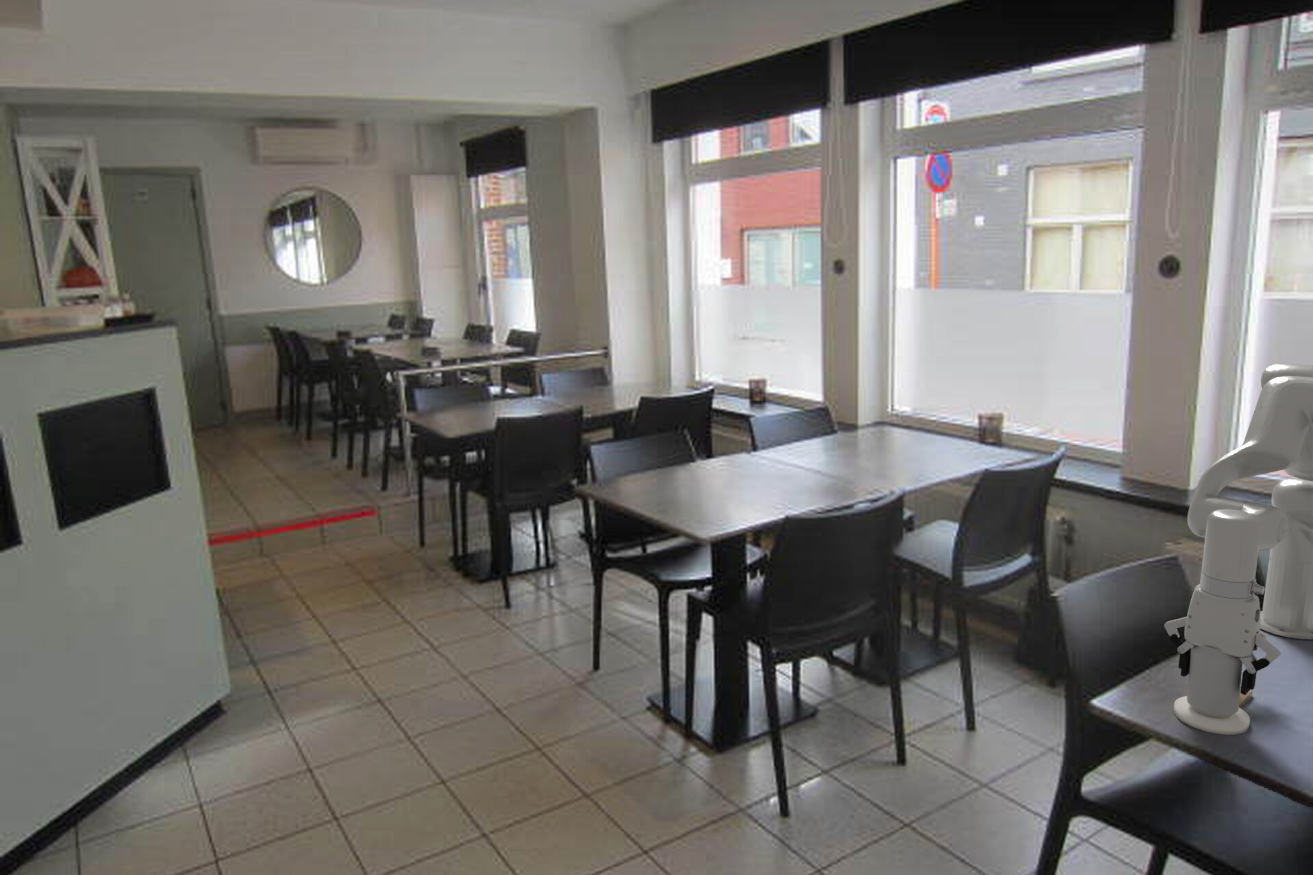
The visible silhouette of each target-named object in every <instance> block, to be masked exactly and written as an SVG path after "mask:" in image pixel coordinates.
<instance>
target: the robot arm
mask: <svg viewBox="0 0 1313 875" xmlns="http://www.w3.org/2000/svg"><path fill="white" fill-rule="evenodd" d="M1260 387H1261V390H1260V394H1259V396H1258V399H1257V403H1256V405H1255V408H1254V411H1253V414H1252V416H1251V420H1250V422H1249V425H1248V428H1247V431H1246V435H1245V437H1244V440H1243V442H1242V445H1240V446H1238V447H1236V448H1235V449H1233V450H1231V451H1229V452H1227V453H1226V454H1224V455H1222V456H1221V457H1220V458H1218V459H1217V460H1215V461H1214V462H1213V463H1211V465H1210V466H1208V468H1207V469H1206V470H1205V471H1204V473H1202V475H1201V476H1200V478H1199V481H1198V483H1197V485H1196V488H1195V491H1194V493H1193V496H1192V499H1191V502H1190V505H1189V507H1188V511H1187V526H1188V527H1189V529H1190V531H1191V532H1192V533H1193V534H1194V535H1196V536H1198V537H1200V538H1202V539H1203V538H1204V546H1203V554H1202V563H1201V571H1200V581H1199V583H1198V584H1197V585H1196V586H1195V587H1194V591H1193V592H1192V595H1191V599H1190V603H1189V606H1188V610H1187V615H1186V616H1184V617H1180V618H1177V619H1173V620H1168V621H1166V622H1165V623H1164V625H1163V626H1164V629H1165V630H1166V632H1167V635H1169V640H1170V641H1171V642H1172V644H1173V645H1174V646H1175V647H1176V648H1177V652H1178V653H1179V660H1178V667H1177V668H1178V669H1180V677H1181V676H1182V677H1184V678H1185V677H1187V676H1189V667H1190V654H1191V647H1192V646H1194V645H1195V646H1198V647H1202V646H1201V645H1204V646H1208V647H1211V648H1216V649H1221V650H1223V651H1221V652H1222V653H1225V654H1227V655H1231V656H1234V657H1239V658H1240V659H1241V661H1242V663H1243V664H1242V665H1243V666H1244V667H1245V669H1244V670H1243V671H1242V675H1241V686H1240V687H1241V691H1240V693H1241V694H1243V695H1246V694H1247V693H1248V692H1249V691H1250V690H1252V691H1253V690H1254V689H1255V686H1256V679H1257V672H1259V671H1261V670H1262V669H1265V668H1267V667H1268V666H1269V665H1271V664H1272V663H1273V662H1274V661H1276V660H1277V659H1278V658H1279V656H1280V655H1282V654H1281V651H1280V650H1279V649H1278V648H1277V647H1275V646H1274V645H1273V644H1272V643H1270V642H1269V641H1268V640H1267V638H1266V639H1264V638H1263V637H1262V636H1261V635H1260V633H1261V630H1264V631H1265V632H1267V633H1271V634H1274V635H1276V636H1277V635H1278V636H1281V637H1285V638H1291V639H1297V640H1298V639H1299V640H1313V365H1310V364H1307V365H1306V364H1297V363H1296V364H1295V363H1274V364H1271V365H1269V366H1268V367H1266V368H1265V369H1264V370H1263V371H1262V374H1261V379H1260ZM1280 471H1284V472H1285V473H1286V474H1287V475H1289V476H1290V477H1289V478H1286V479H1282V480H1280V481H1279V482H1277V484H1275V486H1274V487H1273V490H1272V493H1271V504H1268V503H1263V502H1262V503H1260V502H1256V501H1255V502H1254V501H1249V500H1246V499H1239V498H1233V497H1227V496H1219V493H1220V492H1221V490H1223V489H1224V488H1226V487H1227V486H1229V485H1230V484H1232V483H1233V482H1236V481H1240V480H1242V479H1247V478H1249V477H1250V478H1251V477H1255V476H1260V475H1265V474H1270V473H1274V472H1280ZM1291 477H1292V478H1291ZM1269 550H1270V551H1269ZM1262 551H1263V552H1264V551H1269V559H1268V565H1267V574H1266V580H1265V586H1264V585H1263V586H1262V585H1260V584H1258V582H1257V578H1256V573H1257V565H1258V556H1259V552H1262ZM1258 594H1259V595H1264V597H1263V602H1262V603H1263V604H1262V610H1261V607H1260V606H1261V604H1260V598H1259V597H1258ZM1182 627H1184V631H1183V632H1184V633H1183V635H1184V636H1182V635H1181V633H1180V632H1178V628H1182ZM1258 648H1259V649H1260V650H1262V651H1263V652H1264V653H1265V654H1266V655H1264V657H1262V658H1259V659H1258V658H1257V657H1256V655H1255V653H1254V651H1257V650H1258Z"/></svg>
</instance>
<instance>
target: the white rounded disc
mask: <svg viewBox="0 0 1313 875" xmlns="http://www.w3.org/2000/svg"><path fill="white" fill-rule="evenodd" d="M1173 713H1174V715H1175V717H1176V718H1178V719H1179V720H1180V721H1181V722H1182V723H1184V724H1186V725H1188V726H1189V727H1191V728H1195V729H1197V730H1200V731H1203V732H1207V733H1211V734H1217V735H1223V736H1224V735H1225V736H1231V735H1233V736H1234V735H1240V734H1243V733H1245V732H1247V731H1248V730H1249V727H1250V722H1251V718H1250V716H1249V714H1248V713H1247V712H1246V711H1245V710H1244V709H1242V707H1239V709H1238V712H1236V713H1234V714H1232V715H1231V716H1229V717H1212V716H1208V715H1205V714H1202V713H1199V712H1197V711H1196V710H1194V709H1193V708H1192V706H1191V705H1190V704H1189V703H1188V702H1187V695H1185V696H1181V697H1179V698H1176V700H1174V704H1173Z"/></svg>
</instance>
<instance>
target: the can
mask: <svg viewBox="0 0 1313 875" xmlns="http://www.w3.org/2000/svg"><path fill="white" fill-rule="evenodd" d="M1201 646H1202V647H1198V646H1195V645H1194V646H1192V647H1191V654H1190V667H1189V674H1188V680H1187V681H1188V682H1187V695H1186V696H1187V702H1188V703H1189V704H1190V705H1191V706H1192V708H1193V709H1194V710H1196V711H1197V712H1199V713H1202V714H1205V715H1208V716H1212V717H1229V716H1231V715H1232V714H1234V713H1236V712H1238V709H1239V708H1240V707H1239V697H1240V687H1241V683H1242V675H1243V665H1244V664H1243V663H1242V661H1241V659H1240V658H1239V657H1234V656H1231V655H1227V654H1225V653H1222V652H1221V651H1223V650H1221V649H1216V648H1211V647H1208V646H1204V645H1201Z"/></svg>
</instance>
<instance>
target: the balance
mask: <svg viewBox="0 0 1313 875" xmlns="http://www.w3.org/2000/svg"><path fill="white" fill-rule="evenodd" d="M1260 635H1261V636H1262V637H1263V638H1264V639H1266V640H1267V637H1266V635H1265V634H1264V633H1261V632H1260ZM1240 691H1241V686H1240ZM1252 696H1253V690H1251V689H1250V691H1249V692H1248V693H1247V694H1246V695H1243V694H1241V693H1240V697H1239V708H1242V707H1244V705H1245V704H1247V702H1248V701H1249V700H1250V698H1252Z"/></svg>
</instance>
